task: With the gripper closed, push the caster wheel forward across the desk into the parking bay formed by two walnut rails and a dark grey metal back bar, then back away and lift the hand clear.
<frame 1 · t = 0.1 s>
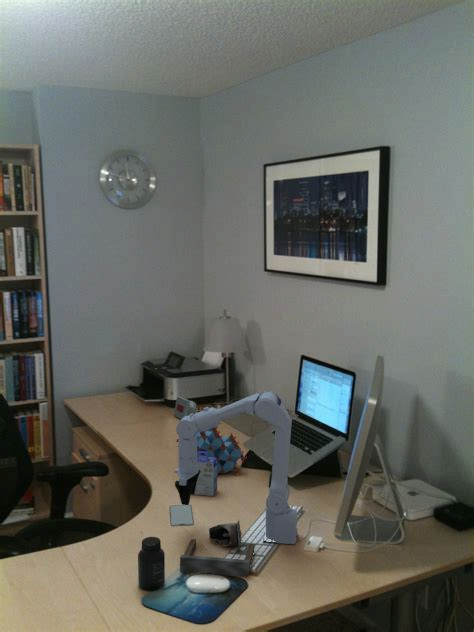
hand: (188, 498, 197), 10 cm above the table, tool pointing down, fingers open, 7 cm apart
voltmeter: (197, 420, 312), on the table
smartphone: (181, 517, 208), on the table
supplement bottle: (151, 585, 168), on the table
molecule model: (211, 470, 247), on the table
caster wheel: (225, 542, 191), on the table
parking bay: (218, 560, 180), on the table
ink cartridge box: (202, 492, 226), on the table
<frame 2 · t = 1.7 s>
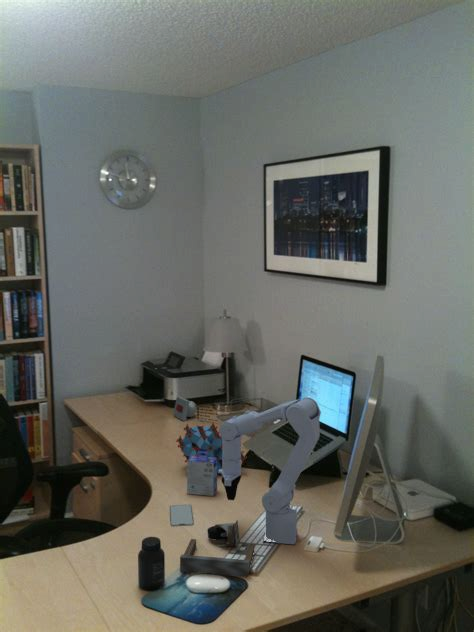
hand: (231, 499, 201), 8 cm above the table, tool pointing down, fingers closed
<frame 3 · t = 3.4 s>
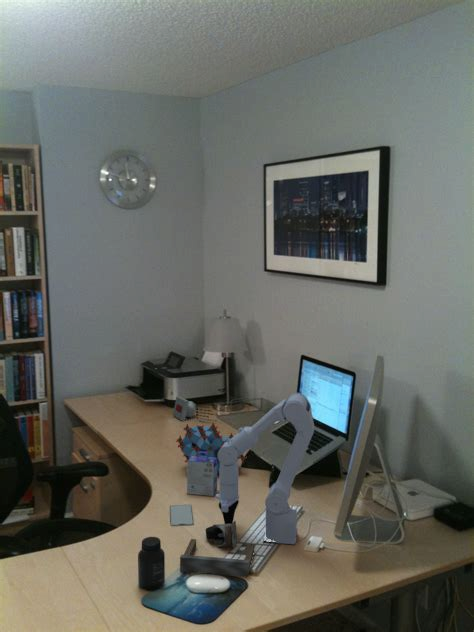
hand: (228, 524, 196), 2 cm above the table, tool pointing down, fingers closed
caster wheel: (221, 542, 191), on the table, touching gripper
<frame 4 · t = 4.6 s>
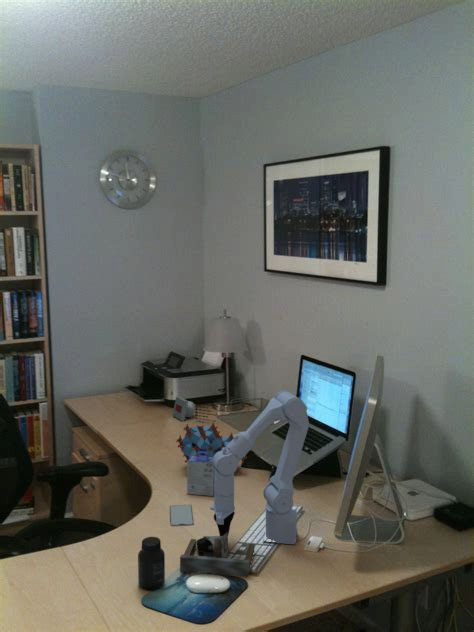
hand: (224, 537, 189), 2 cm above the table, tool pointing down, fingers closed
caster wheel: (212, 555, 183), on the table, touching gripper
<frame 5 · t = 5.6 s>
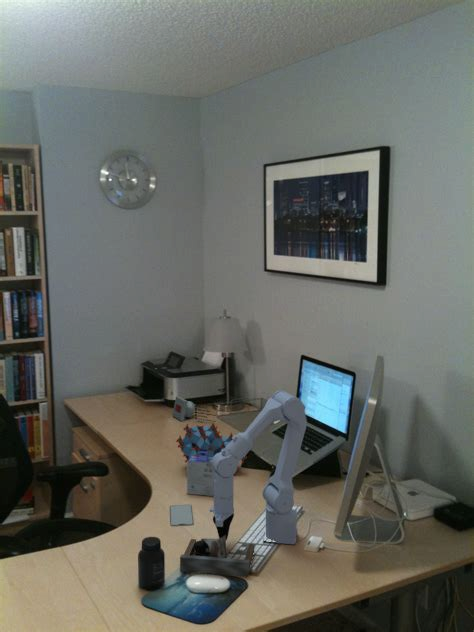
hand: (223, 539, 187), 2 cm above the table, tool pointing down, fingers closed
caster wheel: (209, 557, 182), on the table
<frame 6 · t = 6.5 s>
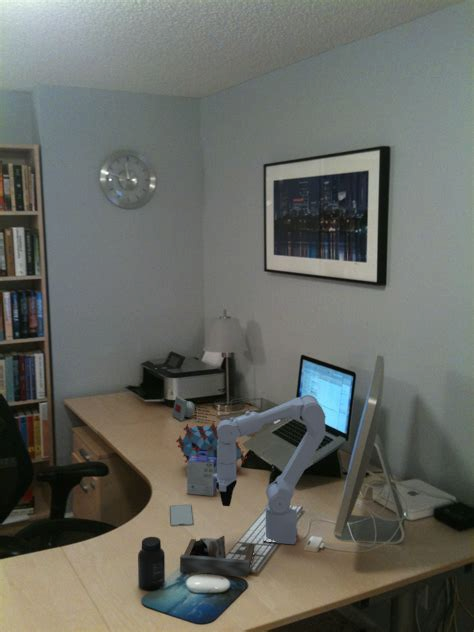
hand: (226, 505, 192), 10 cm above the table, tool pointing down, fingers closed
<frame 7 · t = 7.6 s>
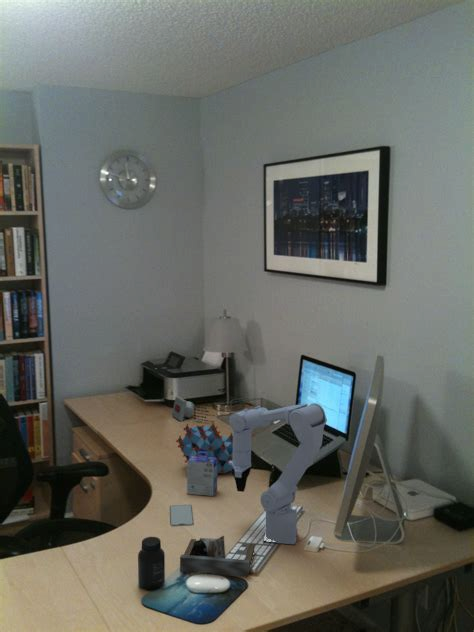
hand: (240, 490, 202), 10 cm above the table, tool pointing down, fingers closed
caster wheel: (208, 557, 182), on the table, touching parking bay
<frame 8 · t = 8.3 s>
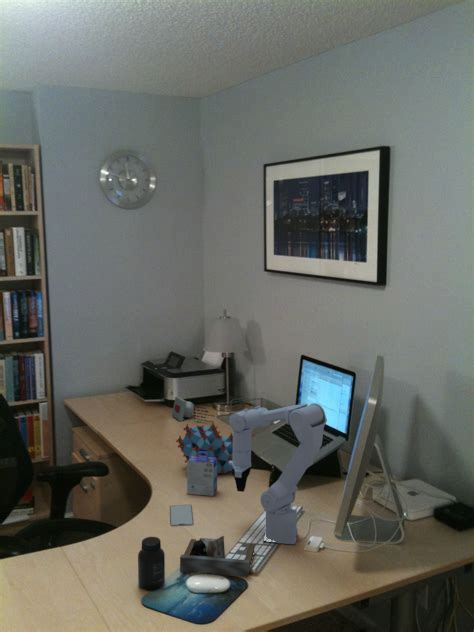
hand: (240, 490, 202), 10 cm above the table, tool pointing down, fingers closed
at the end: caster wheel inside the target area (3.6 cm from its centre), on the table; caster wheel tilted 0°; caster wheel moved 10.1 cm from its start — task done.
